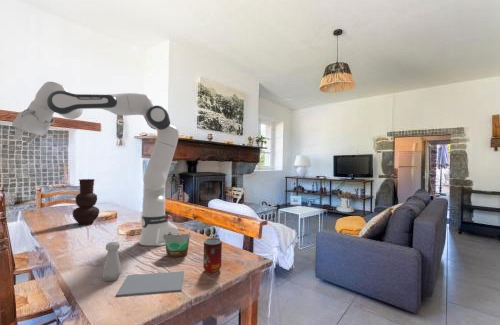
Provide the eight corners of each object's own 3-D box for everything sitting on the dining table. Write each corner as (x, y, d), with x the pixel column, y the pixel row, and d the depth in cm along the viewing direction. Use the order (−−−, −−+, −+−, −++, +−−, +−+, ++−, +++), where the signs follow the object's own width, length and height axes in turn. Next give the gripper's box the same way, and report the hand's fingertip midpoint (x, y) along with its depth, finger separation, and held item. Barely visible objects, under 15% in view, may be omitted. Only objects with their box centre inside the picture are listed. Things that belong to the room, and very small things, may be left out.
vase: (103, 223, 168) (104, 179, 168) (78, 227, 155) (79, 180, 155) (92, 220, 176) (93, 178, 176) (67, 224, 163) (68, 179, 163)
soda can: (199, 270, 97) (200, 239, 98) (214, 265, 102) (215, 236, 102) (209, 276, 92) (210, 243, 92) (224, 271, 97) (225, 240, 97)
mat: (115, 296, 77) (115, 294, 77) (127, 276, 91) (127, 275, 91) (181, 290, 81) (181, 289, 81) (183, 272, 95) (183, 271, 95)
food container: (162, 260, 107) (162, 237, 107) (163, 255, 113) (163, 233, 113) (191, 257, 110) (191, 235, 110) (190, 252, 116) (191, 231, 116)
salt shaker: (117, 273, 93) (118, 239, 93) (123, 278, 89) (124, 242, 89) (100, 279, 88) (101, 242, 88) (106, 284, 85) (107, 246, 85)
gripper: (35, 111, 103) (16, 140, 100) (56, 121, 122) (41, 146, 120) (18, 103, 101) (-1, 133, 99) (42, 116, 121) (26, 141, 118)
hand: (22, 140), depth 109 cm, fingers open, 8 cm apart
